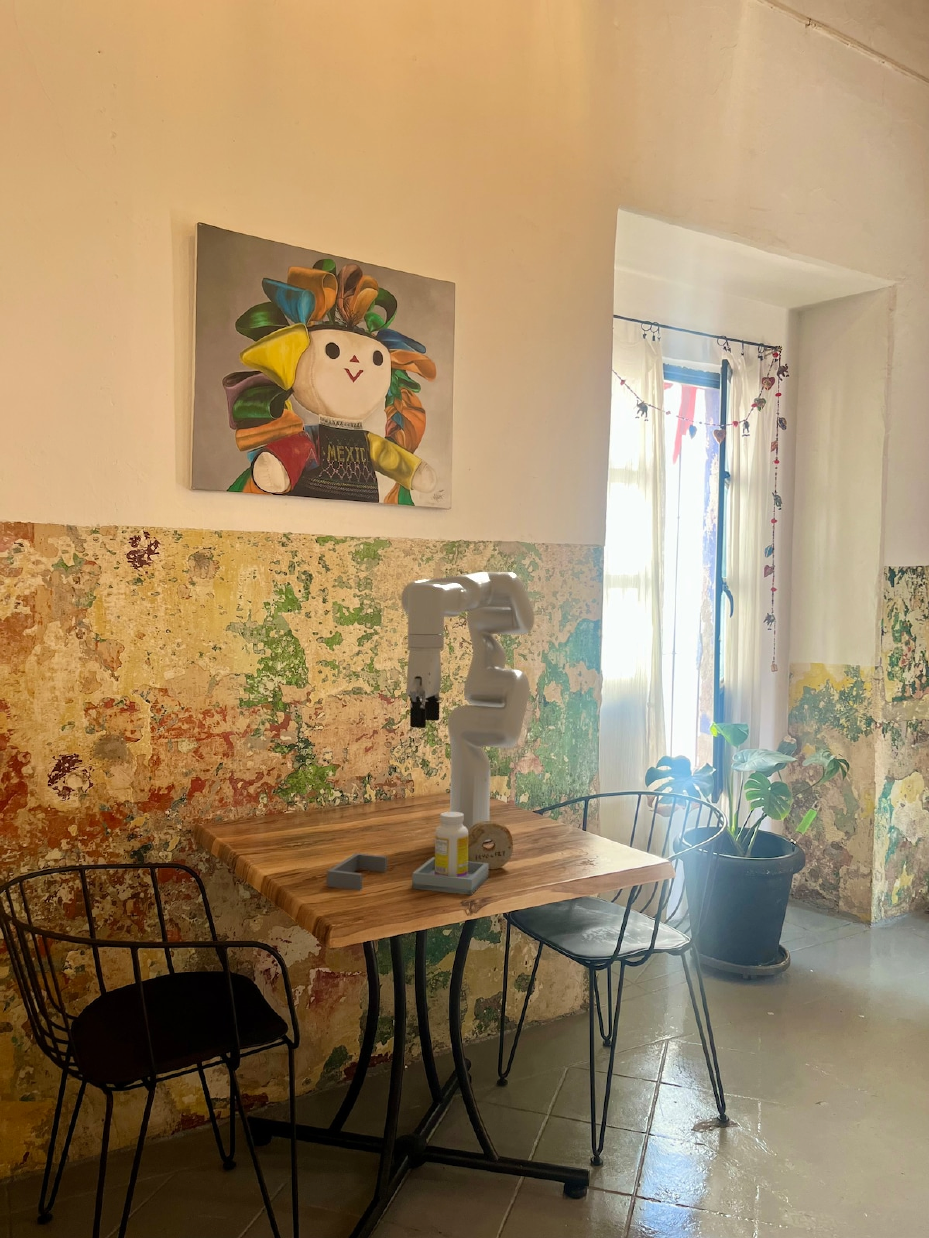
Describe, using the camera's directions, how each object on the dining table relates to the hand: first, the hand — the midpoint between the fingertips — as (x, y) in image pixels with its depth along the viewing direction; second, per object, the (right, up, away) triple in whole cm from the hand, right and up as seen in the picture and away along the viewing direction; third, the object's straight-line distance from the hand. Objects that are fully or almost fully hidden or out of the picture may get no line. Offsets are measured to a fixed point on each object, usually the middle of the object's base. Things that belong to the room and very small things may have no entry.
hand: (425, 723), depth 192 cm
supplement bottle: (+6, -30, -9) cm, 32 cm away
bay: (-13, -30, -8) cm, 34 cm away
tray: (+6, -31, -9) cm, 33 cm away
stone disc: (+13, -31, +2) cm, 34 cm away
